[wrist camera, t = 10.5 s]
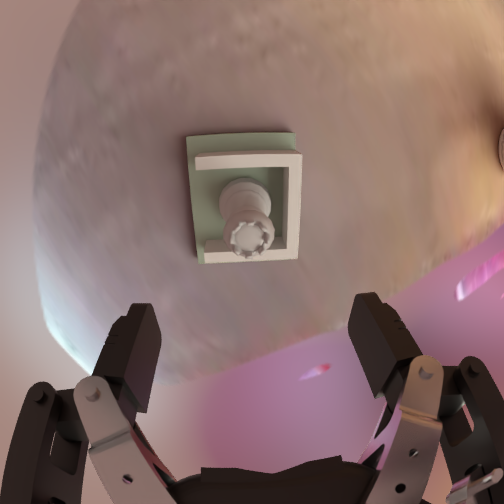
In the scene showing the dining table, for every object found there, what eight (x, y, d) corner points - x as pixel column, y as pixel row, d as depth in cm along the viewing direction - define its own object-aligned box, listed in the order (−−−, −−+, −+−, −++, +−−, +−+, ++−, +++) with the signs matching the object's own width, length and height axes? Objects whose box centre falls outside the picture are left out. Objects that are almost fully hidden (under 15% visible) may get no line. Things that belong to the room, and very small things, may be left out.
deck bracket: (188, 136, 21) (180, 139, 18) (292, 132, 22) (302, 134, 19) (199, 259, 27) (195, 278, 24) (289, 254, 27) (296, 273, 24)
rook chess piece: (275, 182, 23) (295, 213, 16) (263, 229, 25) (275, 277, 18) (224, 171, 22) (219, 198, 15) (214, 220, 24) (207, 266, 17)
